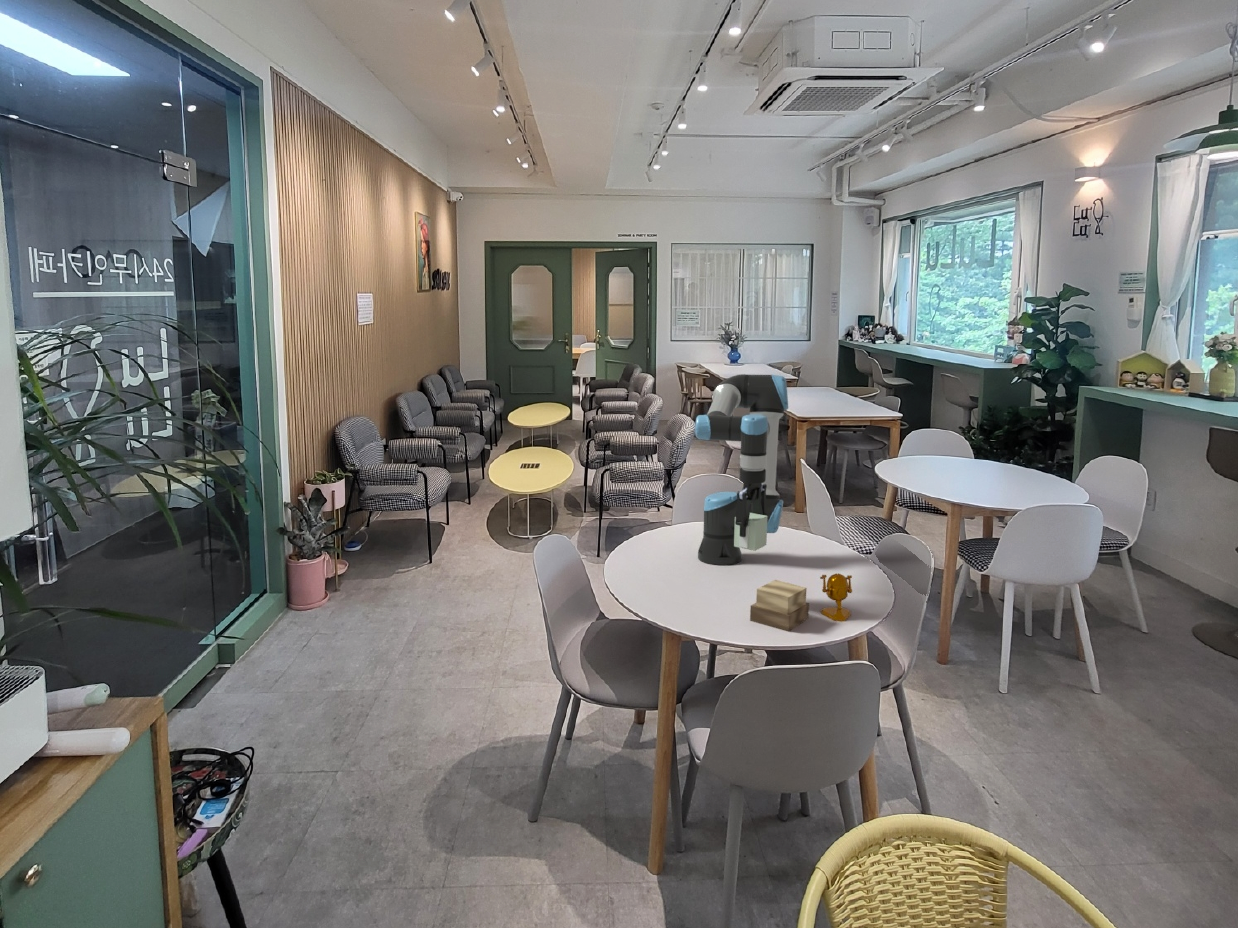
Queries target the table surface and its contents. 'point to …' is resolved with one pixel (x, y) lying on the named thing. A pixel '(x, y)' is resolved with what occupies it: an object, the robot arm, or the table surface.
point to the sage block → (754, 532)
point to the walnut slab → (779, 617)
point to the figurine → (837, 596)
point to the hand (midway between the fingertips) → (750, 543)
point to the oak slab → (781, 597)
